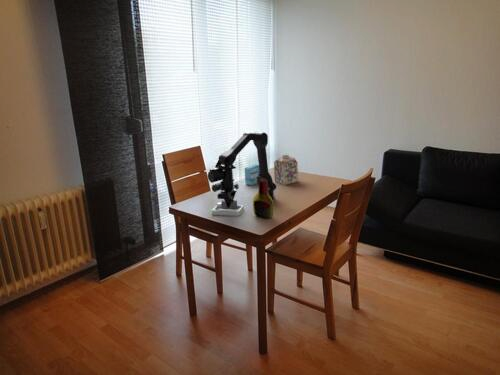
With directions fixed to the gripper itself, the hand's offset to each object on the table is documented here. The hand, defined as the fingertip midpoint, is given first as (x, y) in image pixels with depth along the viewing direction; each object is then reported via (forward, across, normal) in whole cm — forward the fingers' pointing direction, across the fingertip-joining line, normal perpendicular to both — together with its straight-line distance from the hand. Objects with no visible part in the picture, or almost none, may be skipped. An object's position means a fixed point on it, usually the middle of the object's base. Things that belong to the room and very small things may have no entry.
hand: (229, 206), depth 191 cm
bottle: (+4, +4, +20) cm, 20 cm away
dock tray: (+3, 0, -1) cm, 4 cm away
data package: (+4, -53, 0) cm, 53 cm away
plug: (+1, 0, -1) cm, 2 cm away
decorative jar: (+4, -58, +22) cm, 62 cm away
